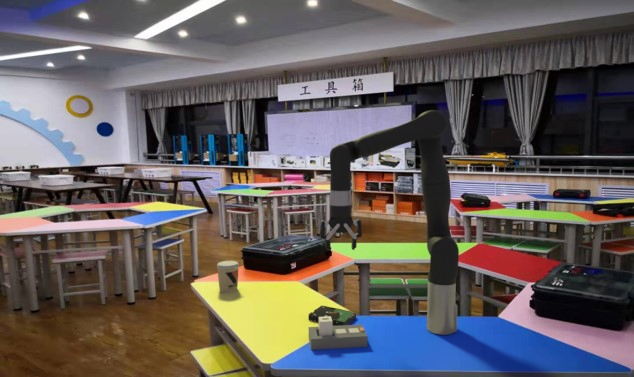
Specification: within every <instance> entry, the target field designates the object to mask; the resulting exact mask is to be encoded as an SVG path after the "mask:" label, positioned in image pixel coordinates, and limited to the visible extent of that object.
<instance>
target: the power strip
mask: <svg viewBox="0 0 634 377" xmlns="http://www.w3.org/2000/svg"><path fill="white" fill-rule="evenodd" d="M308 341H309V345H310V351H312V350H313V351H314V350H315V351H316V350H329V349H330V350H331V349H332V350H333V349H348V348H349V349H352V348H367V347H368V335H367V332H366V330H365V329H364V326H363V325H362V324H348V325H341V326H333V335H332V336H319V326H311V327H310V326H309V327H308Z"/></svg>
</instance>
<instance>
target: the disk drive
mask: <svg viewBox="0 0 634 377" xmlns="http://www.w3.org/2000/svg"><path fill="white" fill-rule="evenodd" d="M326 316H331V319H332V321H333V326H341V325H351V323H352V322H353V321H354V320H356V319H357V314H356V312H354V311H351V310H350V311H349V310H346V309H342V308H336V307H332V306H327V305H320V306H318V307H317V308H316V309H314V311H313V312H309V313H308V321H311V320H312V321H313V322H317V323H319V317H326ZM312 321H311V322H312Z"/></svg>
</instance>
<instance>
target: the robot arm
mask: <svg viewBox="0 0 634 377" xmlns="http://www.w3.org/2000/svg"><path fill="white" fill-rule="evenodd" d="M447 127H448V120H447V118H446V116H445V114H444V113H442V112H441V111H438V110H437V109H436V110H435V109H430V110H426V111H424V112H421V113H420V114H419V115H418V116H417V117H416V118H414V119H412V120H410V121H408V122H405V123H402V124H399V125H396V126H393V127H389V128H385V129H381V130H377V131H374V132H371V133H369V134H366V135H364V136H360V137H358V138H356V139H354V140H350V141H347V142H343V143H339V144H336V145H334V146H333V147H332V148H331V149H330V152H329V165H330V179H329V180H330V181H329V183H330V184H329V187H330V190H329V220H323V219H321V220H320V225H319V226H320V227H319V237H320V238H321V239H323V240H325V245H324V246H325V249H326V250H327V251H328V252H330V251H331V240H330V239H331V238H332V237H333V235H334V234H335V233H336V234H341V233H343V234H346V233H349V234H350V236H351V250H352V251H353V250H354V251H355V249H357V239H358V238H362V237H363V230H362V220H360V218H357V219H353V217H352V216H353V214H352V213H353V212H352V210H353V209H352V208H353V199H352V198H353V196H352V178H351V168H352V167H351V163H352V162H354V161H356V160H359V159H362V158H368V157H370V156H371V157H372V156H375V155H377V154H380V153H383V152H386V151H389V150H391V149H393V148H396V147H399V146H402V145H404V144H409V143H411V142H415V141H418V142H417V143H418V146H419V151H420V152H419V153H420V177H421V188H422V189H421V190H422V191H421V192H422V198H423V205H424V212H425V215H426V223H427V224H426V226H427V227H426V228H427V231H426V232H427V234H426V235H427V236H426V248H427V249H426V250H427V251H428V254H429V255H430V258H429V259H430V260H429V263H430V264H429V271H428V274H427V304H426V305H427V306H426V308H427V309H426V310H427V311H426V313H427V314H426V329H427V330H428V332H430V333H432V334H435V335H442V336H443V335H444V336H447V335H451V334H453V333H457V332H458V331H457V330H458V304H457V303H456V290H457V289H456V286H457V285H456V282H457V281H456V280H457V277H458V273H459V272H458V271H459V259H460V258H459V257H460V252H459V246H458V243H457V242H456V241H455V240H454V239H453V238H452V234H451V229H450V228H451V227H450V222H449V215H450V214H449V213H450V209H451V203H452V202H451V201H452V196H451V195H452V190H451V180H450V174H449V170H448V167H447V163H446V161H445V158H444V152H443V148H442V147H443V146H442V142H443V141H442V140H443V139H442V135H443V134H444V132H445V131H446V130H447ZM353 224H354V226H355V227H356V233H355V232H354V231H353V230H352V229H351V228H352V226H353ZM328 225H329V227H330V229H329V230H328V232H327V233H326V234H325V230H326V229H325V228H327V226H328Z"/></svg>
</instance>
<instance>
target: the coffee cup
mask: <svg viewBox="0 0 634 377" xmlns="http://www.w3.org/2000/svg"><path fill="white" fill-rule="evenodd" d="M239 265H240V264H239V262H238V261H236V260H223V261H219V262H218V263H217V264H216V267H217V279H218V285H219V286H218V287H219V291H220V292H221V293H233V292H236V291H238V286H239V284H238V283H239V282H238V280H239Z"/></svg>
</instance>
